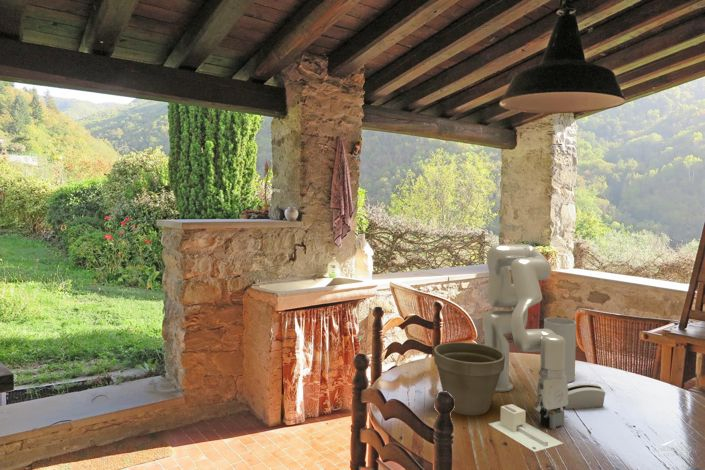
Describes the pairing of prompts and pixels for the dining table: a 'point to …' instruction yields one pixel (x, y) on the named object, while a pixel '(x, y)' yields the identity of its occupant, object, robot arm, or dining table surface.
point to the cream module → (512, 417)
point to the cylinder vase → (568, 332)
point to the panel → (528, 436)
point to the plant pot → (469, 374)
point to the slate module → (555, 418)
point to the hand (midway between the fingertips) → (551, 425)
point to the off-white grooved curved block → (585, 396)
